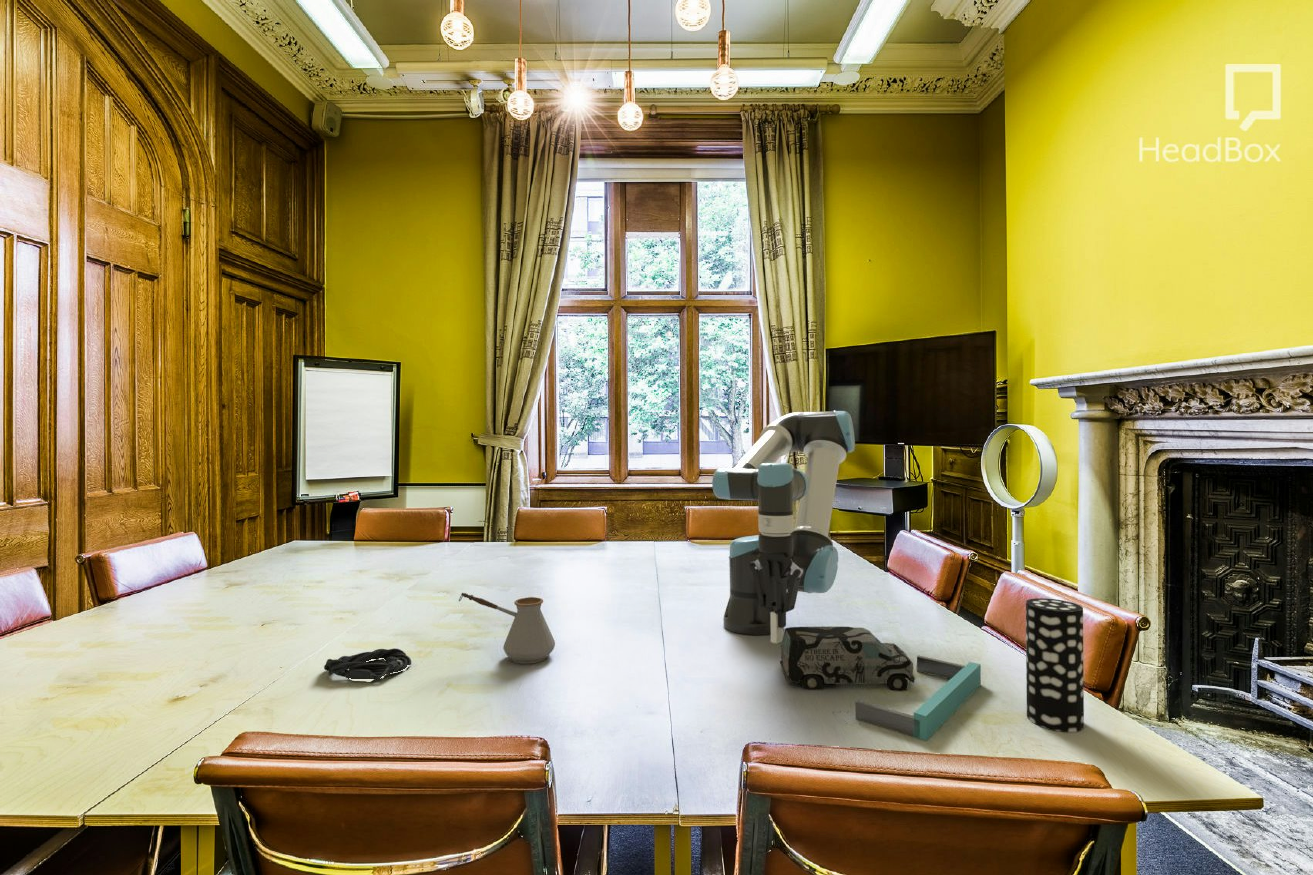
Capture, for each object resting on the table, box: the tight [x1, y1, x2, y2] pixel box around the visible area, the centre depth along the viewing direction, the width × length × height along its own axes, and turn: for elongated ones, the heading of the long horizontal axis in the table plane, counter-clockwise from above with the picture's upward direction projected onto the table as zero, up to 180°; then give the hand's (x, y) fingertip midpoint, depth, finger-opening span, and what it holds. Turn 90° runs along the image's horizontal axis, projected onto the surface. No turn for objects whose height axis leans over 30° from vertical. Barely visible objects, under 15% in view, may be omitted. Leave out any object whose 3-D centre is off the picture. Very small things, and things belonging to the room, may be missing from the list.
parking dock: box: [854, 654, 982, 741], centre depth 117 cm, size 12×30×4 cm, turn 138°
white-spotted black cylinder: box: [1025, 597, 1085, 733], centre depth 108 cm, size 8×8×20 cm
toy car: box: [779, 625, 916, 692], centre depth 127 cm, size 11×25×10 cm, turn 87°
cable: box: [323, 648, 412, 680], centre depth 135 cm, size 17×14×4 cm
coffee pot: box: [458, 592, 556, 665], centre depth 142 cm, size 21×12×15 cm, turn 91°
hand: (777, 641), depth 138 cm, fingers closed
